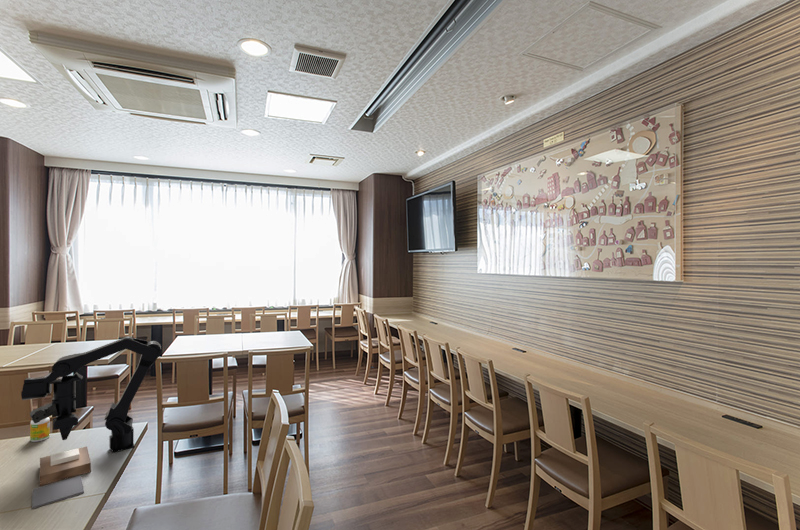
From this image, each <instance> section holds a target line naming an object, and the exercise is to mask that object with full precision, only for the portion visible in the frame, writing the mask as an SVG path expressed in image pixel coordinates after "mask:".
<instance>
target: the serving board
mask: <svg viewBox="0 0 800 530" xmlns="http://www.w3.org/2000/svg"><path fill="white" fill-rule="evenodd" d="M79 454H80V457H79V459H76V460H72V461H68V462H64V463H60V464H57V465H53V466H51V462H50V455H47V456H43V457H39V487H41V486H45V485H48V484H52V483H55V482H59V481H62V480H66V479H69V478H73V477H76V476H80V475H81V476H82V475H85V474H88V473H91V472H92V463H91V457H90V454H89V449H88V446H84V447H79Z"/></svg>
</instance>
